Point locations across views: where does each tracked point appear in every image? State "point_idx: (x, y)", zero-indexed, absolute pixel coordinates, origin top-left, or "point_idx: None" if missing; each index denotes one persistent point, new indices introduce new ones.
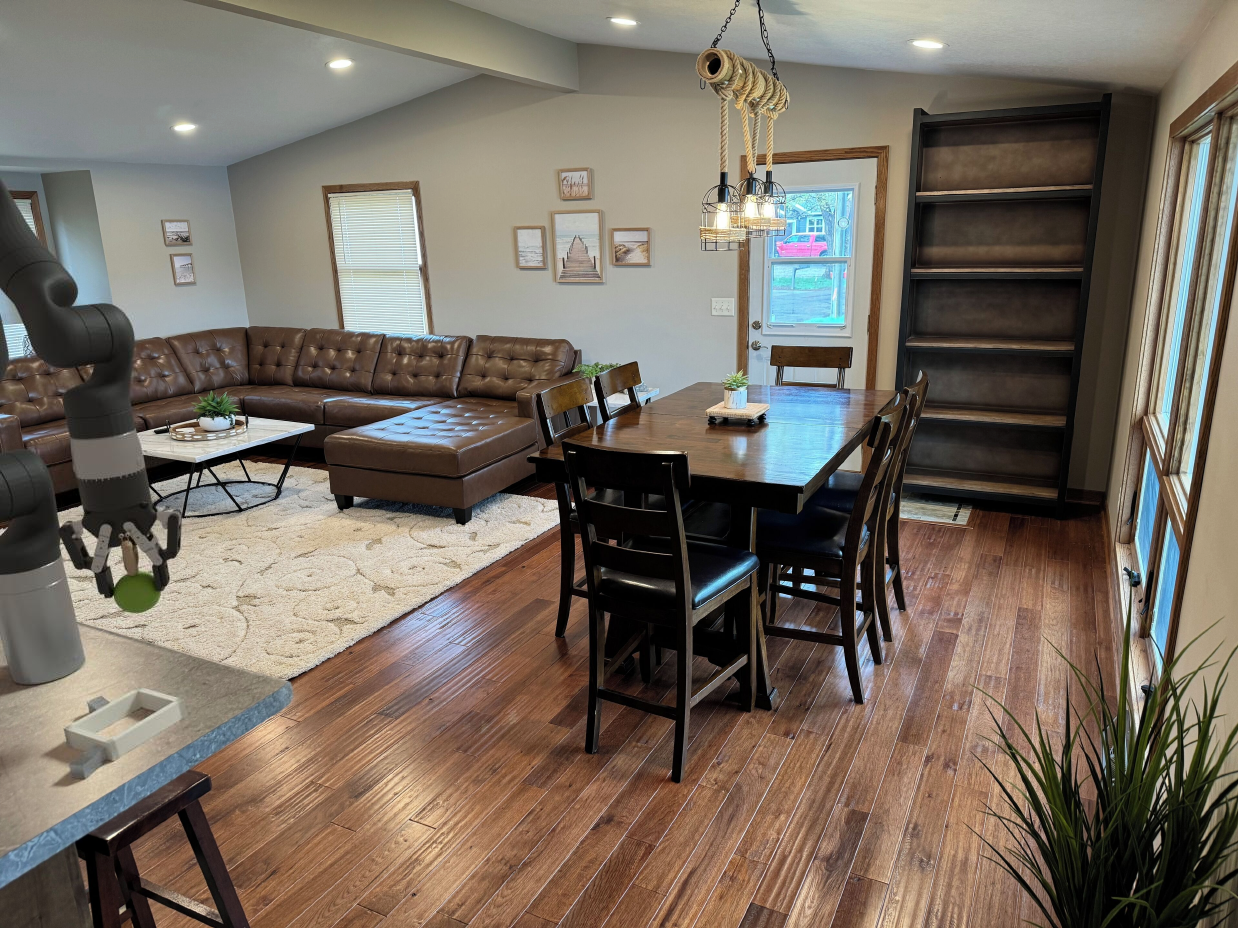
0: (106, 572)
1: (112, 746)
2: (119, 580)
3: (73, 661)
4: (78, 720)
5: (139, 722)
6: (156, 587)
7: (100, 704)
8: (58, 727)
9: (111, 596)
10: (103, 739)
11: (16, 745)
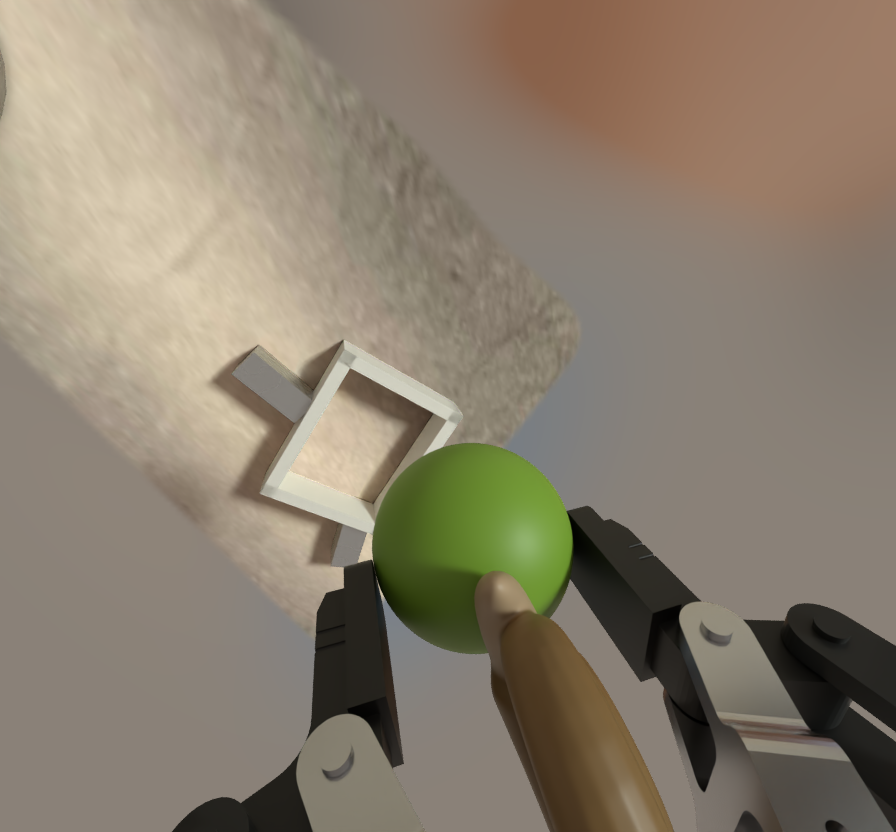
0: (398, 739)
1: None
2: (431, 634)
3: None
4: (274, 469)
5: None
6: (575, 582)
7: (275, 391)
8: (198, 411)
9: (382, 605)
10: (363, 526)
11: (147, 464)
